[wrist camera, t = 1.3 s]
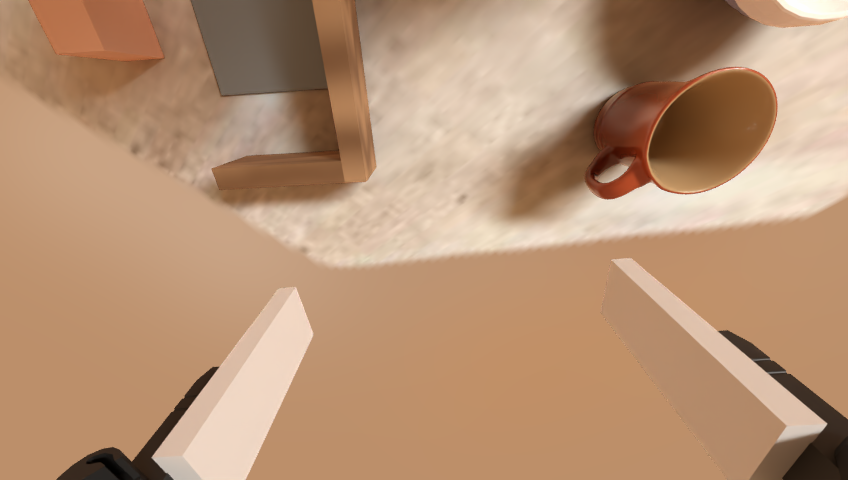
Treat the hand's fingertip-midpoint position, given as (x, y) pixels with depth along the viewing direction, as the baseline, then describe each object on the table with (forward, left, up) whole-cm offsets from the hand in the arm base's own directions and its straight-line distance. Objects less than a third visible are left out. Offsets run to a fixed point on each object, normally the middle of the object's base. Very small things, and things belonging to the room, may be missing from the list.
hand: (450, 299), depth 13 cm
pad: (-13, -16, -23) cm, 30 cm away
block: (-16, -28, -23) cm, 39 cm away
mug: (-3, +18, -23) cm, 30 cm away
